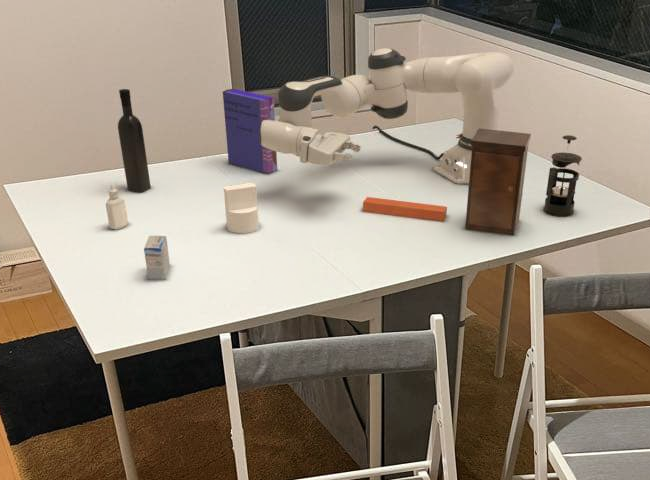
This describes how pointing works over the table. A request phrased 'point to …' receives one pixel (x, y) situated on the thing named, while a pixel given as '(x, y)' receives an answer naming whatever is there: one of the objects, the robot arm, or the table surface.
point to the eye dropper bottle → (116, 210)
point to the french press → (559, 196)
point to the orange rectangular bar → (405, 209)
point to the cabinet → (496, 180)
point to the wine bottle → (132, 147)
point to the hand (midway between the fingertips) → (355, 153)
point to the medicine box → (157, 257)
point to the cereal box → (248, 130)
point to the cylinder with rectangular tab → (241, 208)
